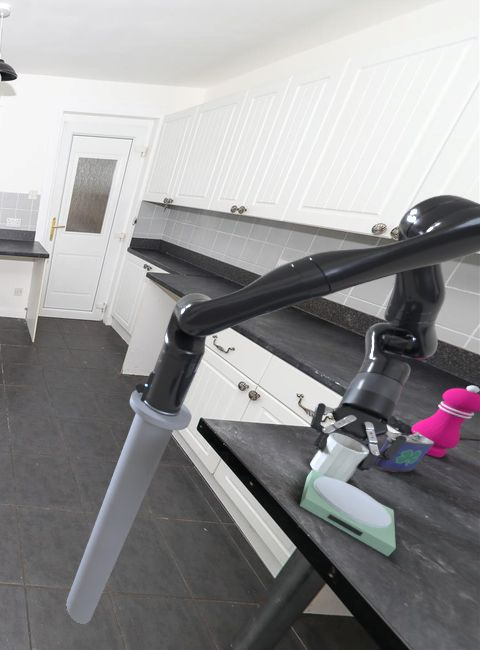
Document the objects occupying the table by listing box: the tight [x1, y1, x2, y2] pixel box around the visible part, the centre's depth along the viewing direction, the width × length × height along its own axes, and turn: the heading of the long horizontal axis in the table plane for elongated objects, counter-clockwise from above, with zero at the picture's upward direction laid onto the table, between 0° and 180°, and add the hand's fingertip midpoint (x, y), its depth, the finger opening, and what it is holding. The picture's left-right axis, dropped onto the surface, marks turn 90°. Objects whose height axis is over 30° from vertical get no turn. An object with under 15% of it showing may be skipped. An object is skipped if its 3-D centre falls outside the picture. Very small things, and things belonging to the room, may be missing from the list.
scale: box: [299, 468, 397, 557], centre depth 66 cm, size 12×12×3 cm
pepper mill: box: [411, 385, 480, 458], centre depth 84 cm, size 7×7×20 cm
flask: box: [372, 431, 434, 473], centre depth 78 cm, size 9×3×11 cm, turn 89°
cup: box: [309, 432, 369, 483], centre depth 75 cm, size 6×6×9 cm
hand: (339, 458), depth 73 cm, fingers closed on cup, 6 cm apart
